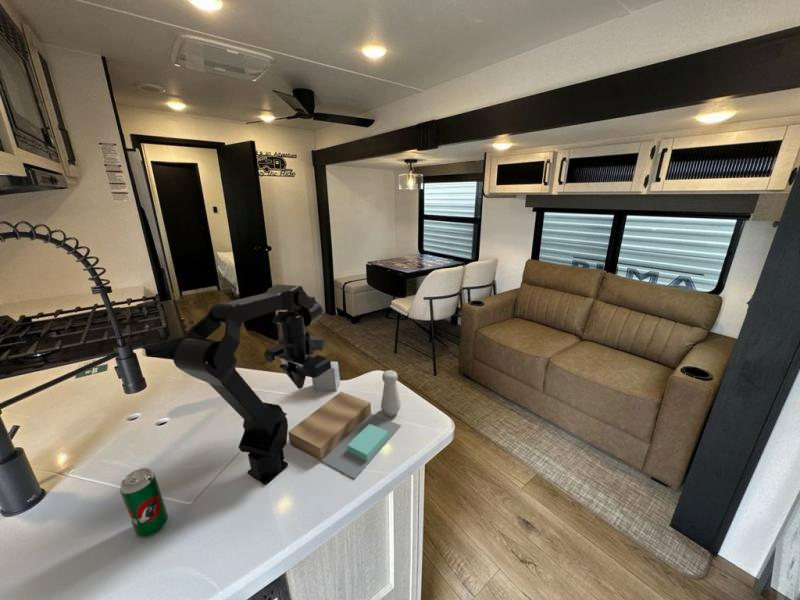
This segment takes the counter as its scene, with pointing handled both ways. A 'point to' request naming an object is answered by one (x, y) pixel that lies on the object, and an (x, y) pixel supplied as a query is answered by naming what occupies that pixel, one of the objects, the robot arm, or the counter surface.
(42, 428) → the counter surface
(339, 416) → the deck
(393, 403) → the salt shaker
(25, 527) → the counter surface
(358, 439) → the teal rectangular block
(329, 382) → the medicine box
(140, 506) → the soda can
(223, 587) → the counter surface
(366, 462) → the mat
